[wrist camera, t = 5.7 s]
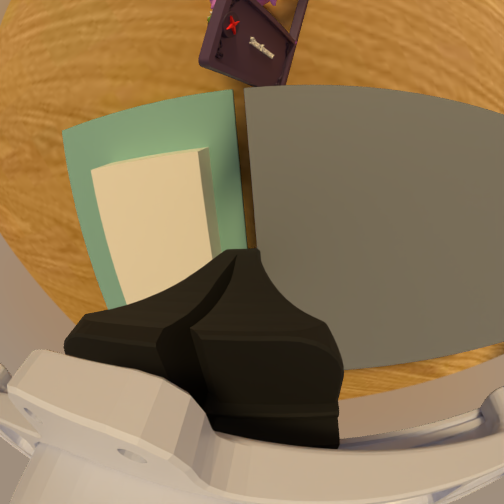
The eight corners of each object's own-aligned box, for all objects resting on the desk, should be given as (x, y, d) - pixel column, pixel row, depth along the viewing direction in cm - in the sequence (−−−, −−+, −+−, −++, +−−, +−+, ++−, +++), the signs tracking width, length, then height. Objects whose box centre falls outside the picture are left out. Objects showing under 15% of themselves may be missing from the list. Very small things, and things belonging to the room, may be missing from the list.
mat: (233, 90, 12) (232, 89, 12) (255, 332, 19) (255, 335, 19) (64, 130, 14) (61, 131, 14) (117, 325, 20) (115, 327, 20)
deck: (515, 126, 10) (555, 135, 7) (481, 309, 16) (504, 341, 13) (254, 97, 13) (243, 88, 9) (270, 327, 19) (266, 372, 15)
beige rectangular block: (90, 170, 13) (110, 163, 14) (130, 313, 16) (142, 296, 18) (197, 151, 12) (208, 147, 14) (222, 318, 16) (228, 297, 17)
